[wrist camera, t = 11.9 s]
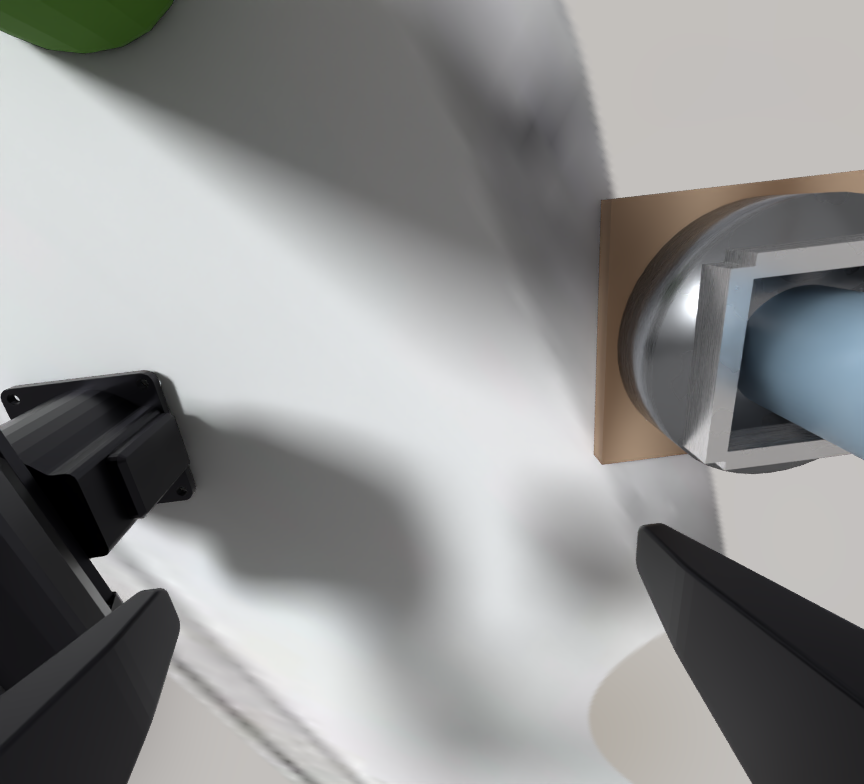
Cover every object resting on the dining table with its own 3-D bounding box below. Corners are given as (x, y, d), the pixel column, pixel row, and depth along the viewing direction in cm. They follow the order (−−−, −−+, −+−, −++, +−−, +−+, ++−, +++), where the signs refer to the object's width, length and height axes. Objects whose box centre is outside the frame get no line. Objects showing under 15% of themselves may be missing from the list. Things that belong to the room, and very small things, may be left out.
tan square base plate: (593, 454, 23) (648, 522, 18) (601, 200, 19) (676, 194, 14) (823, 425, 23) (941, 483, 18) (883, 167, 19) (1062, 149, 14)
